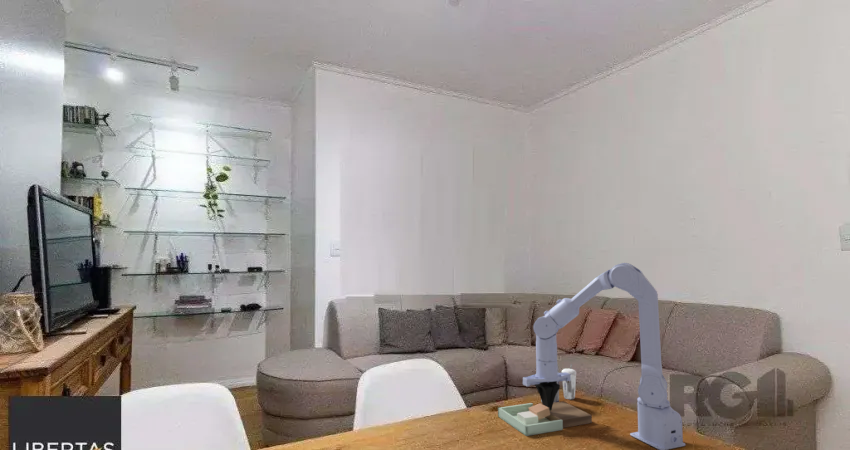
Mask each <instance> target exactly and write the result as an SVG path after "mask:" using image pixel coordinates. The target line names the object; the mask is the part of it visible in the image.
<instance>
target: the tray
mask: <svg viewBox="0 0 850 450" xmlns="http://www.w3.org/2000/svg"><path fill="white" fill-rule="evenodd" d="M532 406H534V403H532V402H529V403H528V402H527V403H520V404H515V405H508V406H503V407H502V406H501V407H497V417H498V418H499V419H501V420H502V421H504V422H506V424H508V425H509V426H511V427H512V428H514V429H515V430H517V431H518V432H519V433H521V434H523V436H525V437H528V436H534V435H539V434H547V433H552V432H557V431H563V430H564V428H563V420H555V421H550V420H548V419H546V418H545V417H544V418H542V419H540V420H538V423H537V424H530V425H526V424H524V423H523V422H521V421H520V420H518V419H517V413H520V412H527V411H529V409H528V408H529V407H532Z"/></svg>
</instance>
